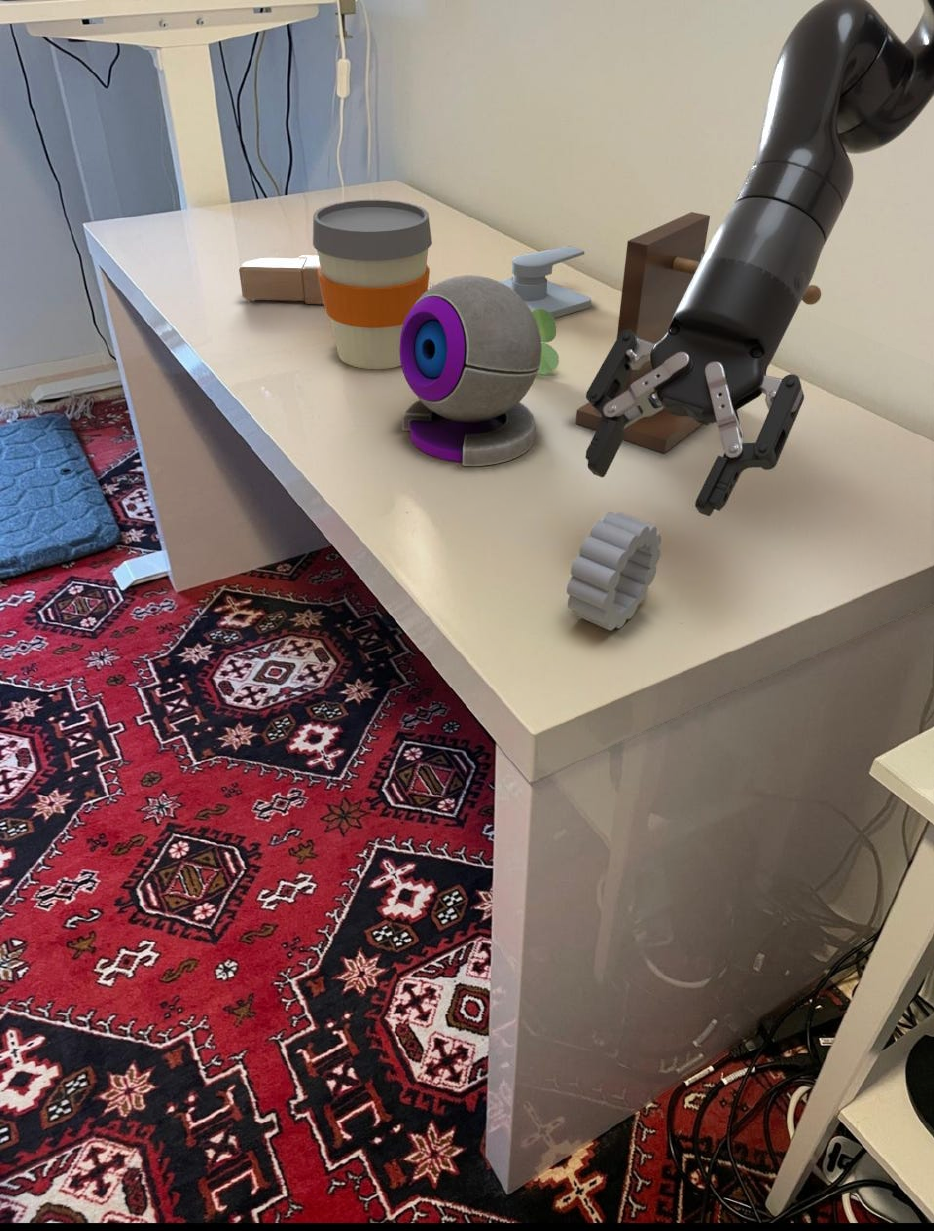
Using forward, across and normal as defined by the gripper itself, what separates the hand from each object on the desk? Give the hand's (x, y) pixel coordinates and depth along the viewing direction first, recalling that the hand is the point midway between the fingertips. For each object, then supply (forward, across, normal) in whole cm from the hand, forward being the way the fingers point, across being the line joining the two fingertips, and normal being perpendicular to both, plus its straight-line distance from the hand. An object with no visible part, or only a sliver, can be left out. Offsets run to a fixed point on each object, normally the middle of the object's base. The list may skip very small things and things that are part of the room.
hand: (646, 491), depth 67 cm
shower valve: (-27, +42, -40) cm, 64 cm away
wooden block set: (-18, +67, -31) cm, 76 cm away
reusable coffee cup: (-9, +46, -22) cm, 52 cm away
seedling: (-15, +30, -28) cm, 44 cm away
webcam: (-3, +26, -16) cm, 30 cm away
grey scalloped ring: (+9, 0, -4) cm, 10 cm away
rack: (-14, +10, -27) cm, 31 cm away
